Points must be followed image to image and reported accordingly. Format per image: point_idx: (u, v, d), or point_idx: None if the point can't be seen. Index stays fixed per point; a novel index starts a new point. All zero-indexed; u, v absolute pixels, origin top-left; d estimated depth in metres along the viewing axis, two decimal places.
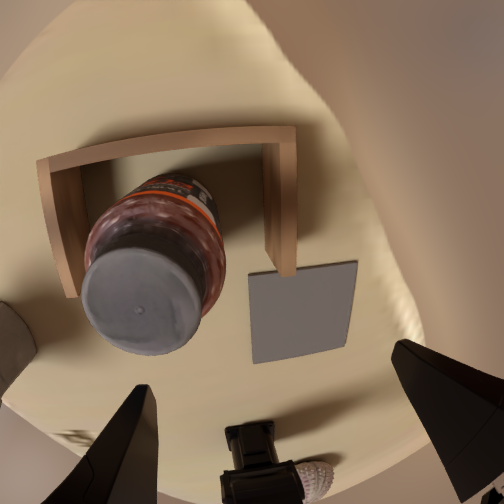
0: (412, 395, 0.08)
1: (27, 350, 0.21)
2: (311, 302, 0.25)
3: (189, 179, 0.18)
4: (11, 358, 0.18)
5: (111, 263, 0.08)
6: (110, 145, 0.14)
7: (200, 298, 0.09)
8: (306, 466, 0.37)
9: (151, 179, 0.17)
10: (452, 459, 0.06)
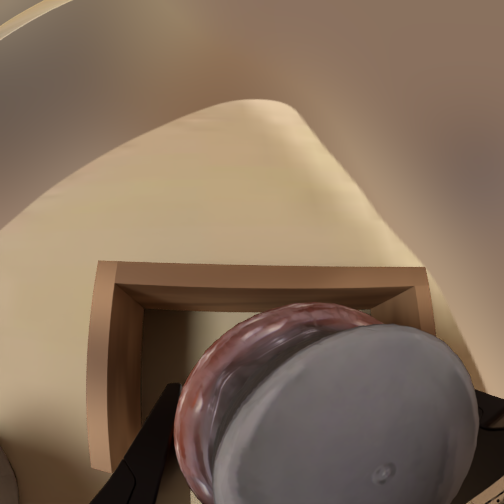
0: None
1: (6, 497, 0.07)
2: None
3: None
4: None
5: (345, 357, 0.03)
6: (215, 268, 0.12)
7: None
8: None
9: None
10: None
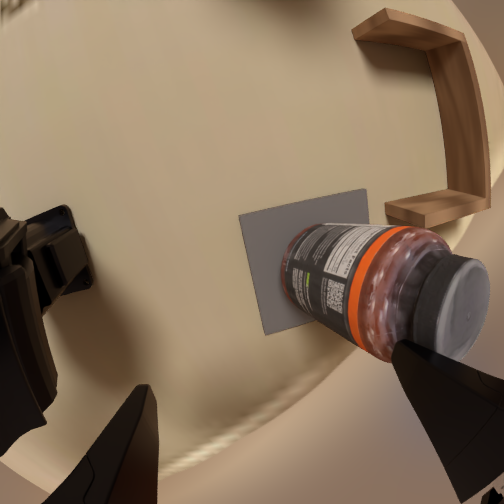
0: (412, 395, 0.08)
1: None
2: None
3: None
4: None
5: (487, 286, 0.09)
6: (478, 88, 0.14)
7: None
8: None
9: None
10: (451, 460, 0.06)
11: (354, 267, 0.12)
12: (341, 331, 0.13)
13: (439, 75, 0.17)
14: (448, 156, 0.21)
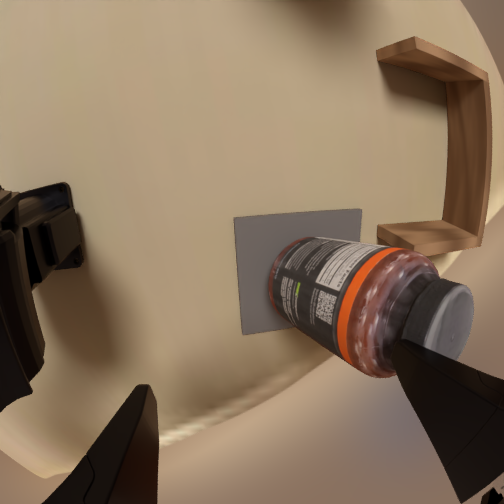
0: (412, 395, 0.08)
1: None
2: None
3: None
4: None
5: (472, 311, 0.10)
6: (491, 129, 0.15)
7: None
8: None
9: None
10: (452, 460, 0.06)
11: (348, 281, 0.12)
12: (327, 342, 0.14)
13: (454, 109, 0.18)
14: (448, 189, 0.22)
